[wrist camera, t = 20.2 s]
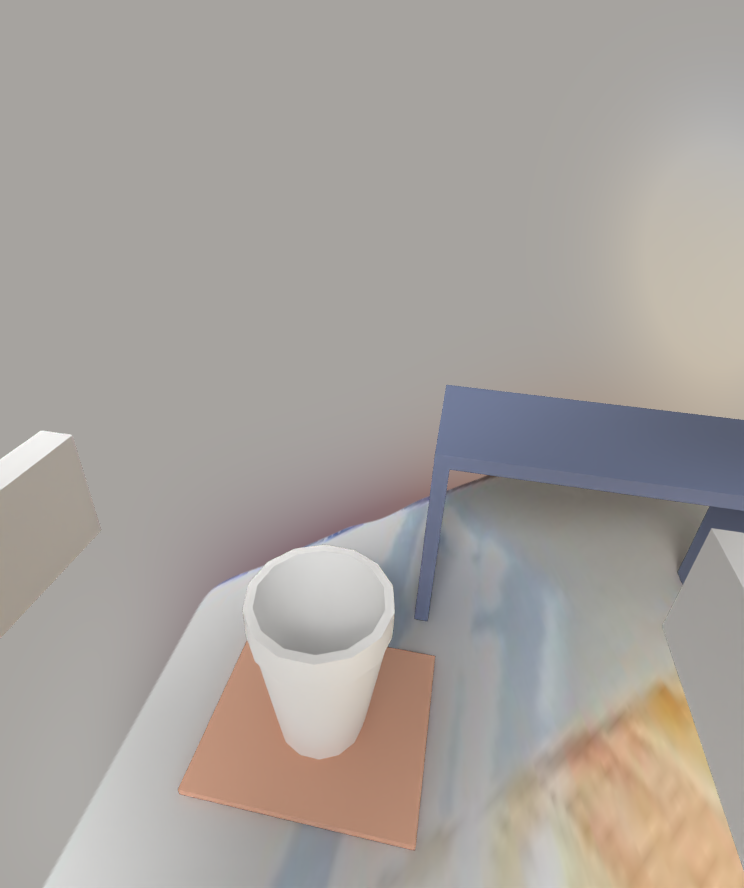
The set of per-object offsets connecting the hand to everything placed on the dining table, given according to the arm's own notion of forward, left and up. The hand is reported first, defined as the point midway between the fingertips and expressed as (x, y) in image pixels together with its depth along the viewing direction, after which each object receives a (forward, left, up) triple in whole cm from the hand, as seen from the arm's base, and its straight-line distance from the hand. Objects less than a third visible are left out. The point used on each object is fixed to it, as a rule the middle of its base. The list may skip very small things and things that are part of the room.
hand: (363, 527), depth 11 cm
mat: (+5, -14, -32) cm, 35 cm away
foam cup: (+5, -14, -32) cm, 35 cm away
